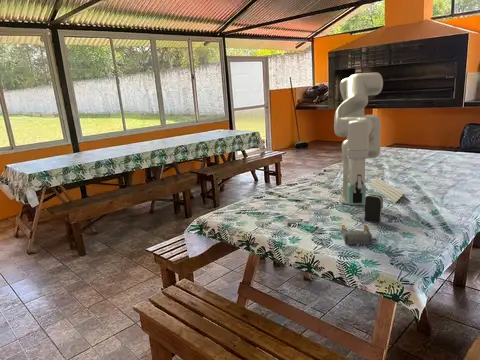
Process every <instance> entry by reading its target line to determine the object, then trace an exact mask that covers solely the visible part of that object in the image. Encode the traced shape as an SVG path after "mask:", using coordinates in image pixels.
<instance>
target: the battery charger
mask: <svg viewBox="0 0 480 360" xmlns="http://www.w3.org/2000/svg"><path fill="white" fill-rule="evenodd" d="M383 206H384V198H383V197H382V196H381V195H377V194H371V193H370V194H367V195H366V199H365V205H364V217H363V218H364V220H365V221H368V222H372V223H377V224H378V223H381V221H382V209H383Z"/></svg>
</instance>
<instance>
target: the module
mask: <svg viewBox="0 0 480 360" xmlns="http://www.w3.org/2000/svg"><path fill="white" fill-rule="evenodd" d="M355 185H357V183H355ZM356 188H357V186H356ZM366 189H367V187H366V183H365V184H364V185H362V203H353V193H354V185H353V186H351V185H350V183H348V184H347V202H348V204H349V205H348V204H347V205H348V206H358V205H364V206H365V199H366V196H367V195H366V194H367V191H366Z"/></svg>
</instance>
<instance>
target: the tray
mask: <svg viewBox="0 0 480 360" xmlns="http://www.w3.org/2000/svg"><path fill="white" fill-rule="evenodd" d="M369 229H370V228H369V226H368V225H365V224H364V225H363V230H347V228H346V226H345V224H343V225H341V234H342V238H343V242H344V244H345V245H372V239H373V238H372V237H373V234H372V233H371V231H370V230H369Z"/></svg>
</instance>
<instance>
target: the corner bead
mask: <svg viewBox="0 0 480 360" xmlns="http://www.w3.org/2000/svg"><path fill="white" fill-rule="evenodd" d="M369 186H370V187H372V189H375V191H377V192H378V193H379V194H381V195H383V196H384V197H386V198H387V199H389V200H390V201H392V202H393V203H397V202H398V201H399V200H400V199H401V197H402V198H403V199H405V200H407V201H409V202H410V203H411V200H410V199H409V198H408V197H407V196H406V195H405V193H403V192H402V191H400V190H398V189H397V188H396V187H393V186H392V185H391V184H388V183H387V182H386V181H383V180H382V179H380V178H379V177H378V176H375V178H374V179H372V181H371V182H370V184H369Z"/></svg>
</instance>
